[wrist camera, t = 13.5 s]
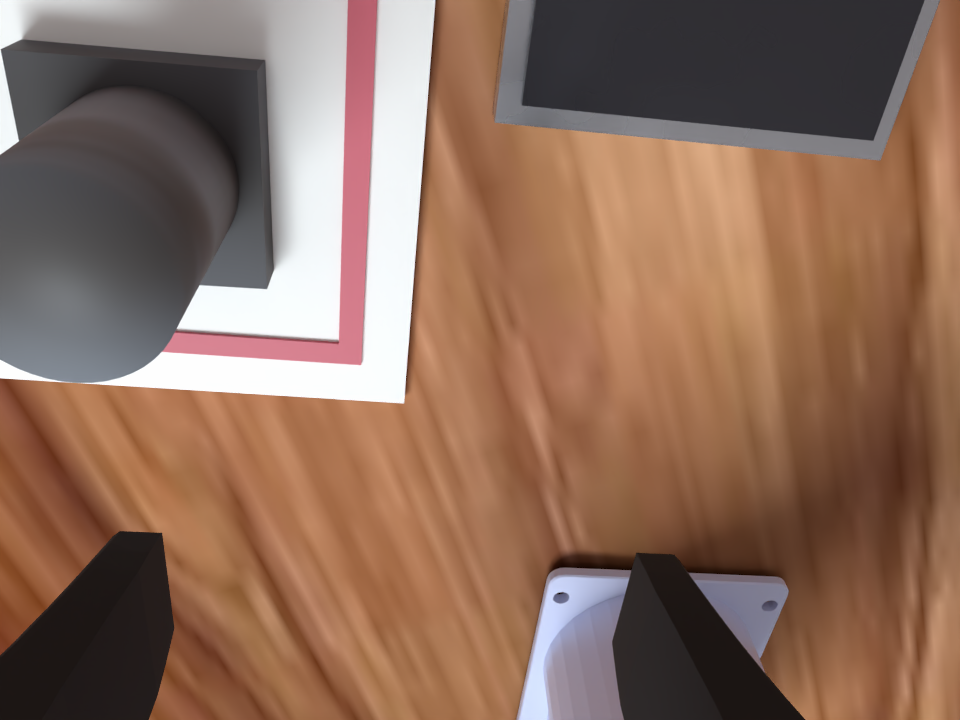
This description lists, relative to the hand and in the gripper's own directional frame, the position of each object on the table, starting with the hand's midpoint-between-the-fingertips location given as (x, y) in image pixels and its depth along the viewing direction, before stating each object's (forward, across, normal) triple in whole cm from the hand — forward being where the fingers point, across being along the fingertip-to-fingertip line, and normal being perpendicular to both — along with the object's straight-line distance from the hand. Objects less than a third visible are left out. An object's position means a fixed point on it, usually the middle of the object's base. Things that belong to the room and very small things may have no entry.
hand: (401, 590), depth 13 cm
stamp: (+10, +6, -3) cm, 12 cm away
